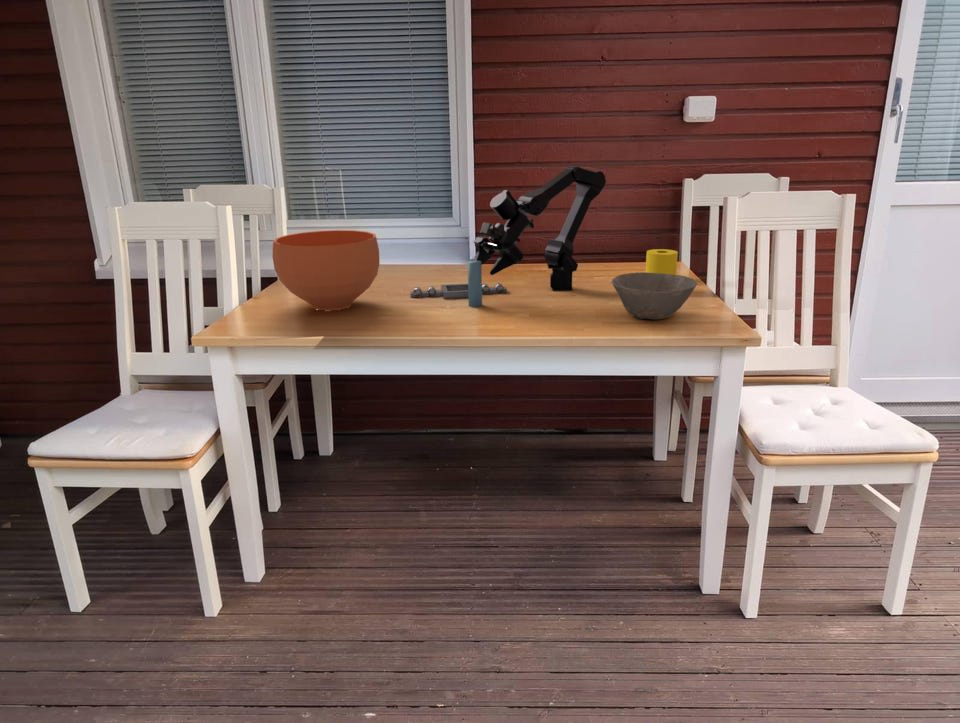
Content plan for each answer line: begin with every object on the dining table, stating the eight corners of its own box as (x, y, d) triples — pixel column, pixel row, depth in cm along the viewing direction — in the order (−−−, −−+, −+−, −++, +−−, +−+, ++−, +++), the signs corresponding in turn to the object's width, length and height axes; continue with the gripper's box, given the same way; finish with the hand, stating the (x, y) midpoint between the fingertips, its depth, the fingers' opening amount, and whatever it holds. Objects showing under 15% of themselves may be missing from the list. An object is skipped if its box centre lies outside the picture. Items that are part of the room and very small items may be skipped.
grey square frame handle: (503, 287, 214) (503, 280, 213) (509, 295, 204) (508, 287, 203) (410, 292, 210) (409, 284, 209) (411, 300, 201) (410, 292, 200)
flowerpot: (384, 316, 184) (378, 243, 177) (274, 323, 180) (264, 248, 173) (381, 291, 212) (376, 227, 205) (286, 297, 208) (278, 232, 201)
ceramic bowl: (690, 307, 187) (693, 273, 184) (696, 330, 166) (700, 292, 163) (611, 304, 192) (613, 270, 189) (608, 326, 171) (610, 289, 168)
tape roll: (668, 284, 214) (670, 255, 211) (640, 280, 220) (641, 252, 217) (680, 278, 222) (682, 250, 219) (652, 275, 228) (654, 248, 224)
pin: (482, 303, 196) (481, 260, 191) (481, 307, 192) (481, 263, 187) (469, 303, 196) (468, 260, 191) (468, 307, 192) (467, 263, 188)
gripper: (478, 209, 196) (448, 250, 194) (515, 215, 182) (483, 259, 180) (499, 233, 203) (470, 272, 201) (537, 240, 188) (506, 283, 186)
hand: (481, 271), depth 192 cm, fingers open, 9 cm apart
